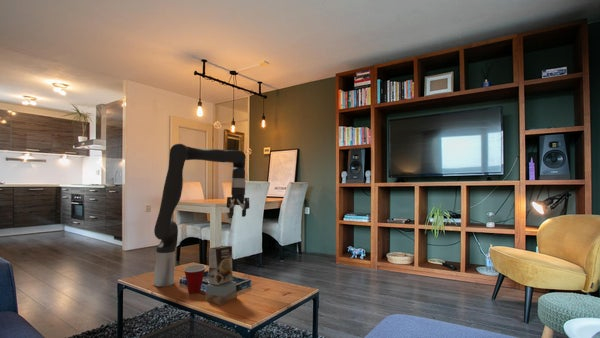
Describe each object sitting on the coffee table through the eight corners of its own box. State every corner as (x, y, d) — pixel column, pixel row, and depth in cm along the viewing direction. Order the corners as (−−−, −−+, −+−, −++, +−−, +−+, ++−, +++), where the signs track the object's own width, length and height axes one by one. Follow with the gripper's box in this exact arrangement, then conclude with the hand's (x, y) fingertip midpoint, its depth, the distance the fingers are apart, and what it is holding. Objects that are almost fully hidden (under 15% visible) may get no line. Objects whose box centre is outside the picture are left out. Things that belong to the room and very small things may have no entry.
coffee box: (218, 285, 141) (217, 248, 143) (208, 283, 145) (208, 248, 147) (233, 280, 149) (232, 245, 150) (224, 279, 152) (223, 245, 154)
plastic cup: (177, 293, 153) (178, 268, 154) (191, 287, 163) (192, 263, 164) (196, 296, 150) (197, 270, 150) (209, 289, 160) (210, 265, 161)
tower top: (206, 293, 143) (206, 284, 143) (219, 287, 152) (219, 279, 152) (223, 296, 140) (224, 287, 140) (235, 290, 148) (236, 281, 149)
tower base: (205, 301, 144) (205, 292, 144) (221, 295, 153) (221, 287, 153) (221, 306, 139) (221, 297, 139) (236, 299, 148) (237, 290, 148)
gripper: (223, 186, 175) (223, 215, 174) (244, 186, 168) (243, 217, 167) (233, 186, 182) (232, 215, 181) (252, 187, 175) (252, 216, 174)
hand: (237, 216), depth 174 cm, fingers open, 8 cm apart
